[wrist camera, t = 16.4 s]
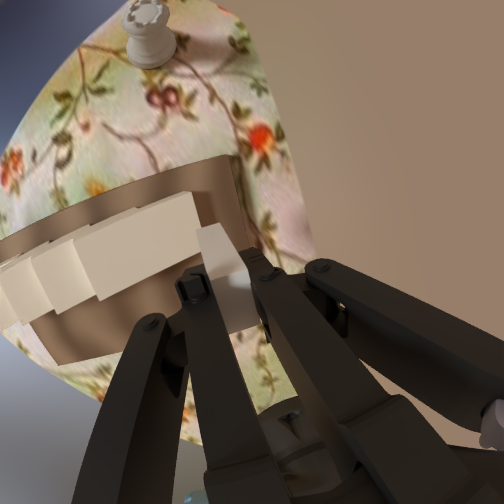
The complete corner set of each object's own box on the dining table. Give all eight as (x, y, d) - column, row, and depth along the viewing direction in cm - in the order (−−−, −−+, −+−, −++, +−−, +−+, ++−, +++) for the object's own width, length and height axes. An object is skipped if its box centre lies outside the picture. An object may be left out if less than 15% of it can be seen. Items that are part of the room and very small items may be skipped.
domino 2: (90, 226, 20) (-4, 276, 15) (111, 278, 22) (23, 325, 17) (89, 223, 21) (0, 270, 16) (109, 273, 23) (24, 317, 18)
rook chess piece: (153, 21, 17) (148, -22, 10) (186, 46, 19) (193, 7, 12) (117, 54, 17) (97, 20, 10) (151, 79, 19) (141, 50, 12)
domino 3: (138, 208, 20) (29, 260, 16) (157, 263, 23) (57, 314, 18) (134, 207, 22) (32, 255, 17) (152, 259, 24) (57, 306, 19)
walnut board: (224, 154, 24) (227, 154, 22) (259, 301, 30) (263, 309, 29) (-2, 241, 19) (-9, 246, 18) (61, 357, 26) (58, 365, 25)
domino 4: (191, 191, 21) (72, 242, 16) (207, 248, 23) (99, 301, 18) (183, 191, 22) (72, 238, 18) (199, 244, 24) (97, 293, 20)
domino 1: (48, 243, 19) (-30, 289, 14) (70, 292, 21) (-5, 334, 16) (49, 240, 20) (-26, 283, 15) (70, 286, 22) (-2, 327, 17)
